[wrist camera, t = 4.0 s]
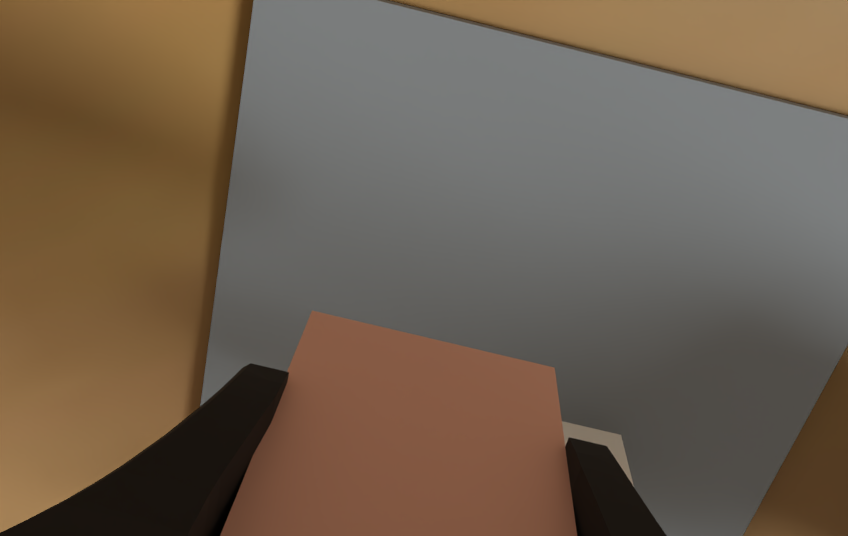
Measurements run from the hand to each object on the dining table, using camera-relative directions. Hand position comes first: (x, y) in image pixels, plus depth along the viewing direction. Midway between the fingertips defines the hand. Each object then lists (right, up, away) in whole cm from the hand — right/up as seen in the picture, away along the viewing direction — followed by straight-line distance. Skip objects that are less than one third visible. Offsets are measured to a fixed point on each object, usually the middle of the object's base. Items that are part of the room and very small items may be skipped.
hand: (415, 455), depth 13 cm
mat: (+1, -7, +14) cm, 16 cm away
